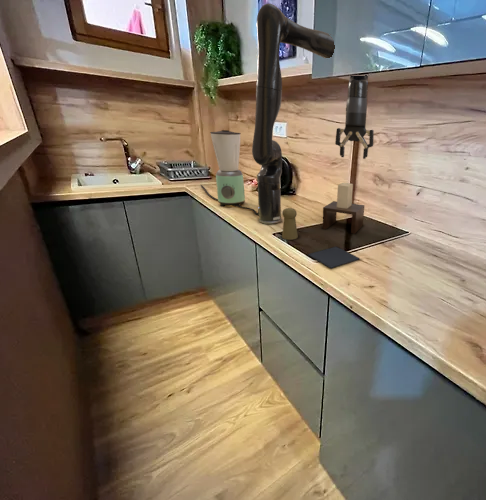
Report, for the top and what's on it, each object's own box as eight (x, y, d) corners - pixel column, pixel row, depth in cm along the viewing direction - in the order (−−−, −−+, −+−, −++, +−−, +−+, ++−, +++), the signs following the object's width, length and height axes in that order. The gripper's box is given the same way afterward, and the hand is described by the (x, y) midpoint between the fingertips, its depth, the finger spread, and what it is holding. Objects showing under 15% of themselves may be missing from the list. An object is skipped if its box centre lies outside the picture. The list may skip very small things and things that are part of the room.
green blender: (242, 208, 148) (236, 131, 134) (214, 208, 146) (205, 130, 133) (248, 199, 165) (243, 130, 151) (223, 198, 164) (216, 129, 150)
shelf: (332, 220, 136) (333, 201, 133) (362, 225, 132) (364, 205, 128) (322, 228, 126) (323, 207, 122) (354, 233, 121) (356, 212, 118)
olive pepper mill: (295, 240, 112) (294, 211, 108) (279, 238, 113) (278, 210, 109) (299, 235, 118) (299, 207, 113) (285, 233, 119) (284, 205, 114)
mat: (308, 255, 100) (308, 254, 100) (336, 247, 107) (336, 246, 107) (330, 269, 92) (330, 267, 92) (359, 259, 99) (359, 258, 99)
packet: (336, 207, 123) (337, 185, 120) (341, 204, 128) (342, 182, 125) (347, 208, 122) (348, 186, 118) (351, 205, 127) (353, 183, 124)
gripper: (376, 113, 113) (372, 158, 119) (339, 111, 116) (337, 155, 122) (374, 112, 106) (370, 160, 112) (334, 110, 109) (333, 157, 115)
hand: (353, 157), depth 117 cm, fingers open, 8 cm apart
